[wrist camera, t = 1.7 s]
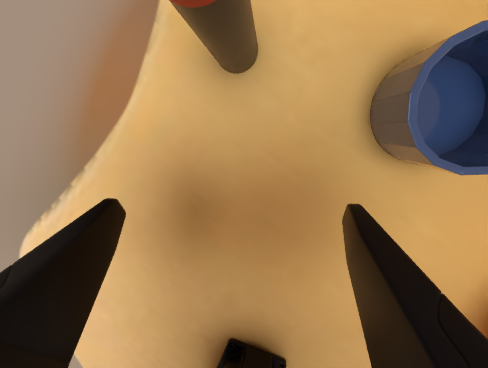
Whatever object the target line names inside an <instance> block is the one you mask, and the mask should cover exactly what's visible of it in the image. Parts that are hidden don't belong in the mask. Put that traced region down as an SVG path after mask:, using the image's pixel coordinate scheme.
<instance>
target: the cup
mask: <svg viewBox="0 0 488 368" xmlns="http://www.w3.org/2000/svg"><path fill="white" fill-rule="evenodd" d="M370 116H371V127H372V130H373V133H374V136H375V138H376V140H377V141H378V143H379V144H380V145H381V147H382V148H383V149H384V150H385V151H387V152H388V153H389V154H391V155H392V156H394V157H396V158H398V159H400V160H404V161H407V162H410V163H413V164H417V165H421V166H425V167H429V168H433V169H438V170H442V171H446V172H450V173H454V174H458V175H484V174H488V20H486V21H482V22H480V23H478V24H476V25H473V26H471V27H469V28H467V29H465V30H463V31H461V32H459V33H457V34H455V35H453V36H451V37H449V38H447V39H445V40H443V41H441V42H439V43H437V44H435V45H434V46H432V47H430V48H428V49H426V50H424V51H422V52H420V53H418V54H416V55H414V56H412V57H410V58H408V59H407V60H405V61H403V62H401V64H399V65H398V66H396V67H395V68H394V69H393V70H392V71H391V72H390V73H389V74H388V75H387V76H386V77H385V78H384V80H383V81H382V82H381V84H380V85H379V87H378V89H377V91H376V93H375V96H374V98H373V102H372V106H371V113H370Z"/></svg>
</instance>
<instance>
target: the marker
mask: <svg viewBox="0 0 488 368" xmlns="http://www.w3.org/2000/svg"><path fill="white" fill-rule="evenodd" d="M169 1H170V2H171V3H172V4H173V6H174V7H175V8H176V9H177V11H178V12H179V13H180V15H181V16H182V17H183V18H184V20H185V21H186V22H187V23H188V25H189V26H190V27H191V28H192V30H193V31H194V32H195V34H196V35H197V36H198V37H199V39H200V40H201V41H202V42H203V44H204V45H205V46H206V47H207V49H208V50H209V51H210V53H211V54H212V55H213V56H214V58H215V59H216V60H217V61H218V63H219V64H220V65H221V66H222V67H223V68H224V69H225V70H227V71H228V72H231V73H241V72H244V71H246V70H248V69H249V68H250V67H251V66H252V65H253V64H254V62H255V60H256V58H257V54H258V44H257V38H256V32H255V26H254V20H253V13H252V7H251V1H250V0H169Z"/></svg>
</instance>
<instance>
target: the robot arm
mask: <svg viewBox="0 0 488 368" xmlns="http://www.w3.org/2000/svg"><path fill="white" fill-rule="evenodd" d="M125 217H126V212H125V210H124V208H123V207H122V206H121V204H120V203H119V201H118V200H117V199H113V198H107V199H104V200H103V201H101V202H100V203H98V204H97V205H96V206H94V207H93V208H91V209H90V210H89V211H87V212H86V213H84V214H83V215H81V216H80V217H79V218H77V219H76V220H74V221H73V222H72V223H70V224H69V225H67V226H66V227H64V228H63V229H62V230H60V231H59V232H57V233H56V234H54V235H53V236H52V237H50V238H49V239H47V240H46V241H45V242H43V243H42V244H40V245H39V246H37V247H36V248H35V249H33V250H32V251H30V252H29V253H27V254H26V255H25V256H23V257H22V258H20V259H19V260H18V261H16V262H15V263H14V264H13V265H11V266H9V267H8V268H6V269H5V270H3V271H2V272H1V273H0V368H68V366H69V363H70V361H71V359H72V356H73V354H74V351H75V349H76V346H77V344H78V342H79V339H80V337H81V334H82V332H83V329H84V327H85V324H86V322H87V319H88V317H89V315H90V312H91V310H92V307H93V305H94V302H95V300H96V297H97V295H98V293H99V290H100V288H101V285H102V283H103V280H104V278H105V275H106V273H107V270H108V268H109V266H110V263H111V261H112V258H113V256H114V253H115V251H116V248H117V244H118V241H119V238H120V234H121V231H122V227H123V224H124V220H125ZM342 225H343V233H344V242H345V251H346V259H347V265H348V270H349V274H350V278H351V282H352V287H353V291H354V295H355V299H356V303H357V307H358V312H359V316H360V320H361V324H362V328H363V333H364V337H365V341H366V345H367V349H368V354H369V358H370V362H371V366H372V368H488V339H487V338H486V337H485V336H484V335H483V334H482V333H481V332H480V331H479V330H478V329H477V328H476V327H475V326H474V325H473V324H472V323H471V322H470V321H469V320H468V319H467V318H466V317H465V316H464V315H463V314H462V313H461V312H460V311H459V310H458V309H457V308H456V307H455V306H454V305H453V303H452V302H451V301H450V300H449V299H448V298H447V297H446V296H445V295H444V294H441V291H440V290H439V289H438V287H437V286H436V285H435V284H434V283H433V282H432V281H431V280H430V279H429V278H428V277H427V276H426V275H425V273H424V272H423V271H422V270H421V269H420V268H419V267H418V266H417V265H416V264H415V263H414V262H413V261H412V259H411V258H410V257H409V256H408V255H407V254H406V253H405V252H404V251H403V250H402V249H401V248H400V247H399V245H398V244H397V243H396V242H395V241H394V240H393V239H392V238H391V237H390V236H389V235H388V234H387V233H386V231H385V230H384V229H383V228H382V227H381V226H380V225H379V224H378V223H377V222H376V221H375V220H374V219H373V217H372V216H371V215H370V214H369V213H368V212H367V211H366V210H365V209H364V208H363V207H362V206H361V205H360V204H348V205H347V206H346V209H345V212H344V215H343V219H342ZM231 344H233V345H231ZM217 368H286V360H285V359H283V358H281V357H278V356H276V355H273V354H270V353H268V352H265V351H263V350H260V349H258V348H255V347H253V346H250V345H247V344H245V343H242V342H240V341H237V340H235V339H230V340H228V342H227V345H226V347H225V349H224V352H223V354H222V357H221V359H220V361H219V364H218V366H217Z"/></svg>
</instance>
